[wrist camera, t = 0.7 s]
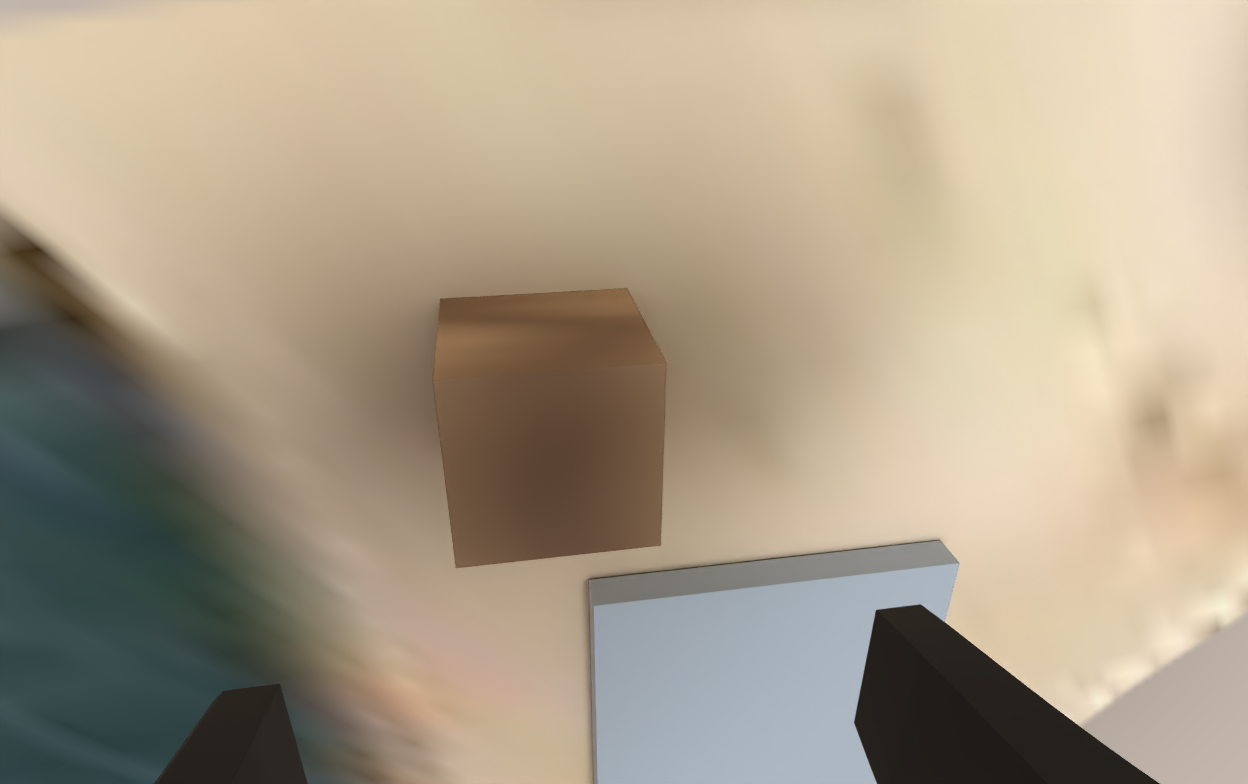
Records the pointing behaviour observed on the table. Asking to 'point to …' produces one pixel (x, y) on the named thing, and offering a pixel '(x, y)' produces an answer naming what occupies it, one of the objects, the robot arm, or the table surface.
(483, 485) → the walnut cube
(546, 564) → the table surface
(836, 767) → the mat
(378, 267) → the table surface
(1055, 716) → the robot arm
